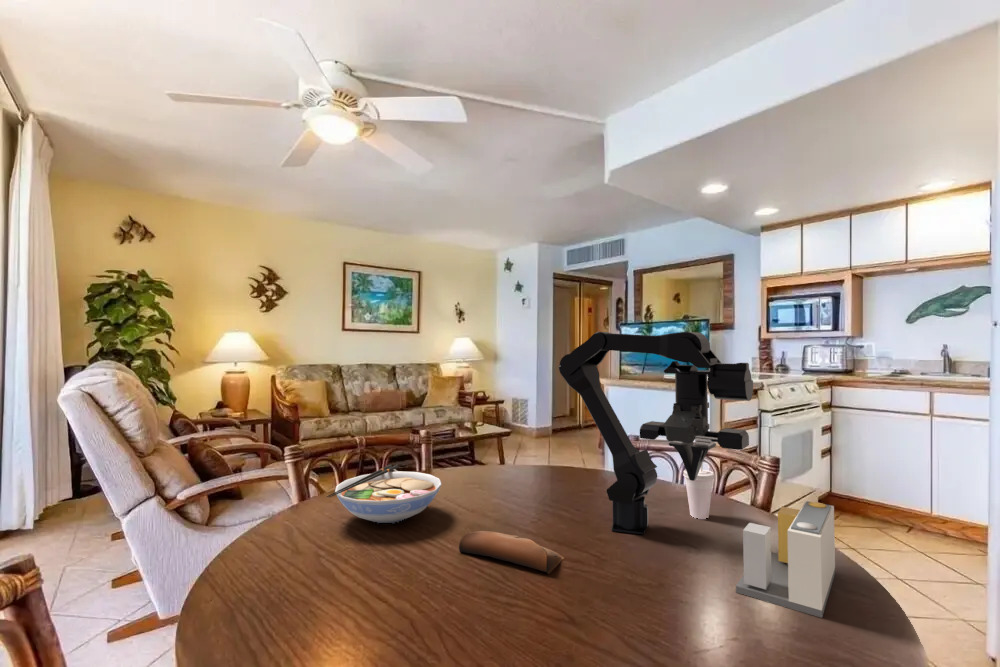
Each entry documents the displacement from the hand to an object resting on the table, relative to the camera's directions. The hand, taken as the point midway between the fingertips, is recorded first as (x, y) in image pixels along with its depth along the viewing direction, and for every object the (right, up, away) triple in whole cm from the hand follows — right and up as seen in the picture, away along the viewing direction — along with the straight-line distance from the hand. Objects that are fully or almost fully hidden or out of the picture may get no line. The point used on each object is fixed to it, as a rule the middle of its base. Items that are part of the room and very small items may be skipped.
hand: (692, 480), depth 93 cm
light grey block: (+3, -10, -18) cm, 21 cm away
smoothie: (+7, -13, +15) cm, 21 cm away
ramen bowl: (-61, -13, +14) cm, 64 cm away
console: (+9, -12, -16) cm, 22 cm away
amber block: (+12, -10, -10) cm, 19 cm away
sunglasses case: (-35, -13, -5) cm, 37 cm away
